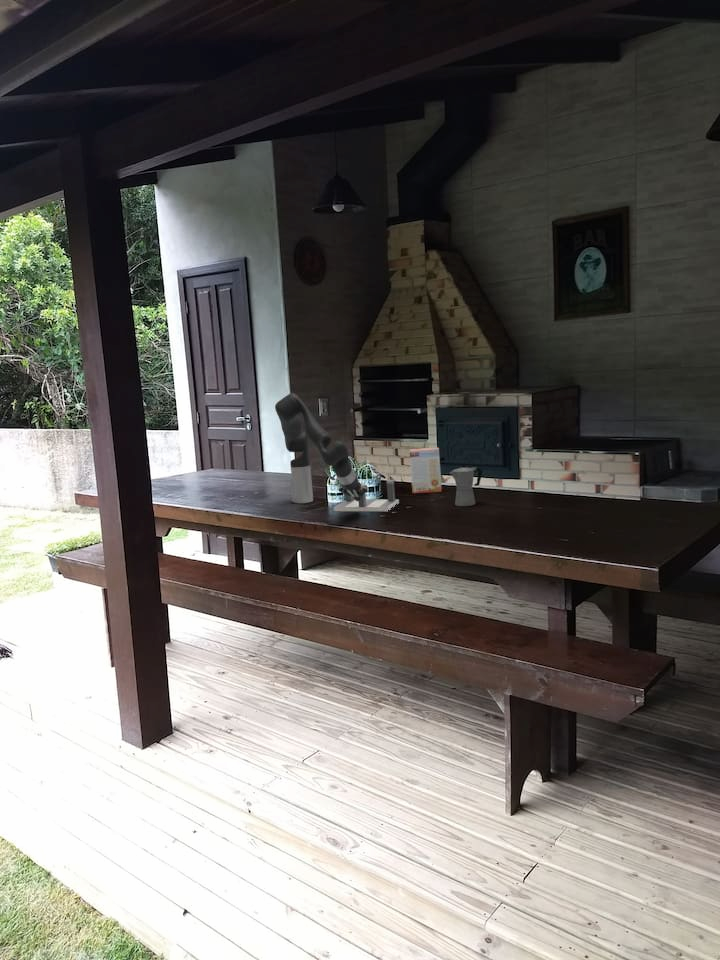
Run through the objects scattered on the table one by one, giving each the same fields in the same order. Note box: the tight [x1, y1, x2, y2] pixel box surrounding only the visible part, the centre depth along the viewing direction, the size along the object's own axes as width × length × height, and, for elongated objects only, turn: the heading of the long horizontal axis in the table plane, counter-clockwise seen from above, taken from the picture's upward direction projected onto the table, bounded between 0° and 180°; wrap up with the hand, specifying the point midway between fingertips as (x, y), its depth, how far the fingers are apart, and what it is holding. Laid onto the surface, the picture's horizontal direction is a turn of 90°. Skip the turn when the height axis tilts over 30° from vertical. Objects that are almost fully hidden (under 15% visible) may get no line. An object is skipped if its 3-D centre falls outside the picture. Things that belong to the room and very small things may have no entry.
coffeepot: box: [449, 462, 484, 507], centre depth 323 cm, size 15×9×18 cm, turn 107°
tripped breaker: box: [359, 483, 367, 506], centre depth 327 cm, size 2×3×9 cm
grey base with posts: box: [333, 479, 400, 512], centre depth 332 cm, size 25×17×11 cm
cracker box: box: [409, 447, 443, 494], centre depth 356 cm, size 14×6×21 cm, turn 84°
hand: (358, 499), depth 322 cm, fingers closed
